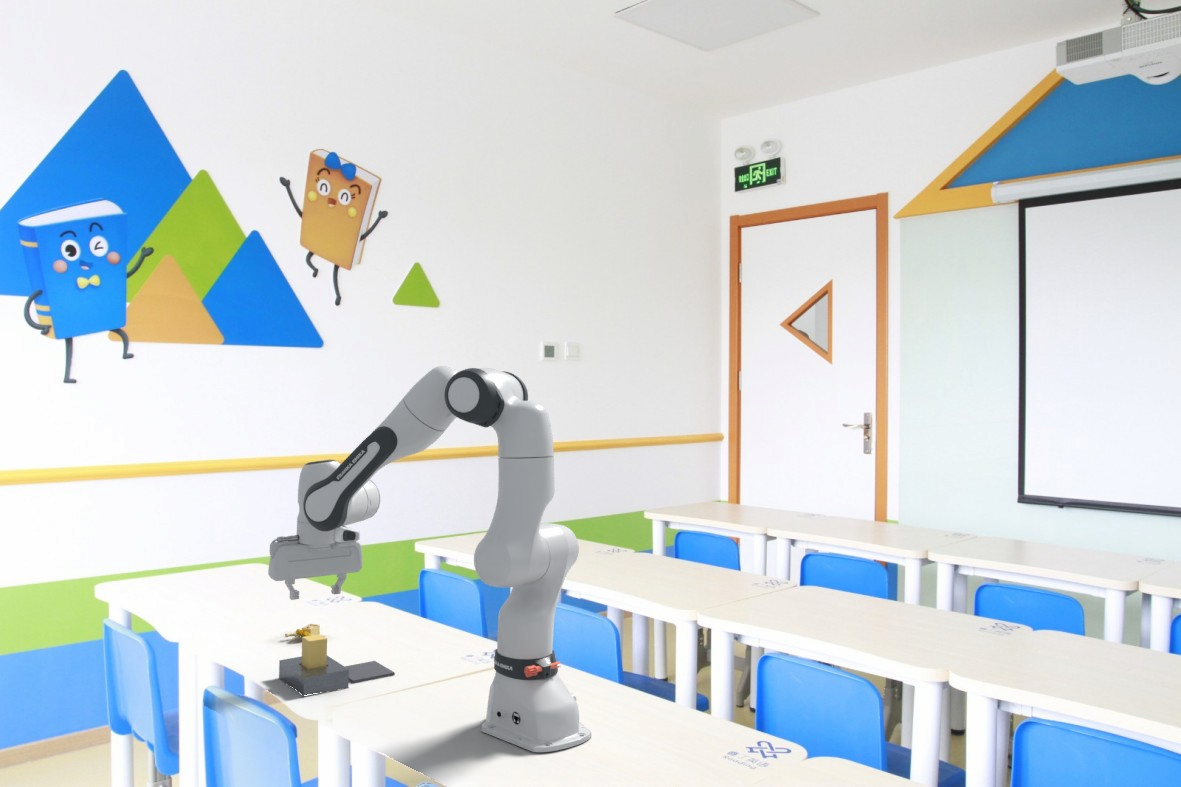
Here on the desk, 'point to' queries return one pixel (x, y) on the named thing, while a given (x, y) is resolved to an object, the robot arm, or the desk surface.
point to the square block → (314, 651)
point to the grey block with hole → (313, 676)
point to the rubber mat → (367, 671)
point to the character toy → (306, 631)
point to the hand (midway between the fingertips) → (315, 596)
